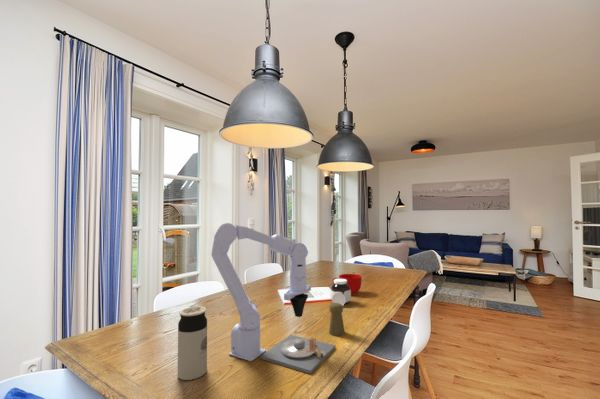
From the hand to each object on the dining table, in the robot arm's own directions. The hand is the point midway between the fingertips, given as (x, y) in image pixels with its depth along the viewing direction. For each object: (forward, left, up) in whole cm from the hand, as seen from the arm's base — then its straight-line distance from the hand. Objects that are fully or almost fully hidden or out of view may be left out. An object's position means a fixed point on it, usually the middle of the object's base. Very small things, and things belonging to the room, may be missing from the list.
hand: (298, 316), depth 98 cm
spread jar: (-5, +51, -11) cm, 52 cm away
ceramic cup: (-9, +71, -11) cm, 72 cm away
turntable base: (+3, -4, -10) cm, 11 cm away
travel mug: (-19, -29, -11) cm, 36 cm away
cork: (+7, +17, -11) cm, 21 cm away
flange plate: (+4, -4, -9) cm, 11 cm away
